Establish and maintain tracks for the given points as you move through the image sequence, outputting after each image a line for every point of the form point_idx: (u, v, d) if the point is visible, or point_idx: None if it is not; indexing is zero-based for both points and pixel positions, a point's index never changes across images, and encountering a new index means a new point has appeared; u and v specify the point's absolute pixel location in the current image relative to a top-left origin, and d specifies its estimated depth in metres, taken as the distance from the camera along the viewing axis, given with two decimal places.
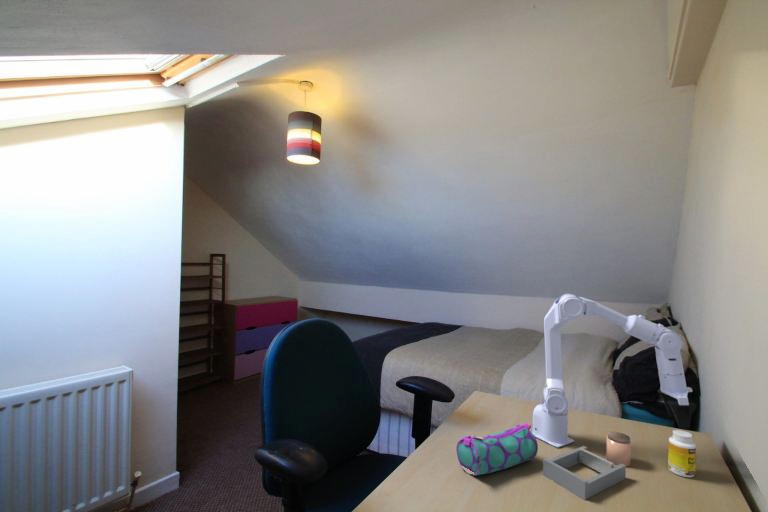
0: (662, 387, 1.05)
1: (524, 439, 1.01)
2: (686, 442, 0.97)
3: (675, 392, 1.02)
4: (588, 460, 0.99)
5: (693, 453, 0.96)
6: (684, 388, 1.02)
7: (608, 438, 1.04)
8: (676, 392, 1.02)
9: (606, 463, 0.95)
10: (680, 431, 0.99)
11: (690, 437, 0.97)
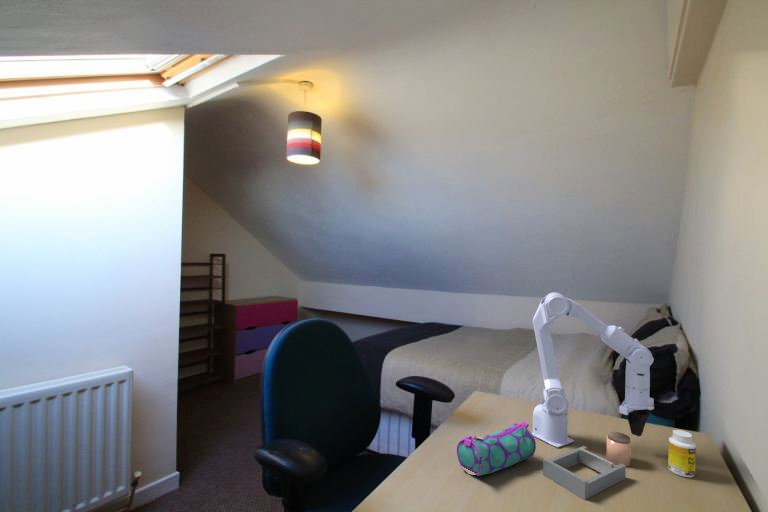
0: None
1: (523, 437, 1.01)
2: (686, 442, 0.97)
3: (629, 403, 1.07)
4: (588, 460, 0.99)
5: (693, 453, 0.96)
6: (639, 403, 1.05)
7: (608, 438, 1.04)
8: (630, 404, 1.07)
9: (606, 463, 0.95)
10: (680, 431, 0.99)
11: (690, 437, 0.97)
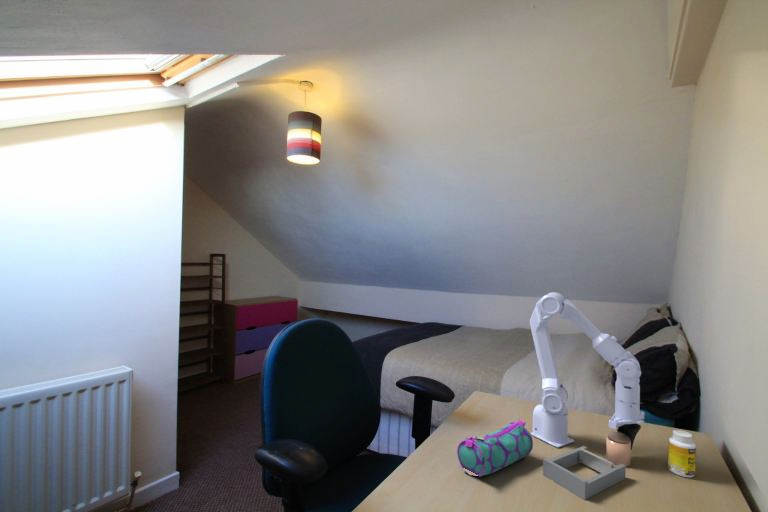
0: None
1: (521, 436, 1.02)
2: (686, 442, 0.97)
3: (619, 417, 1.04)
4: (588, 460, 0.99)
5: (693, 453, 0.96)
6: (629, 417, 1.03)
7: (608, 438, 1.03)
8: (620, 418, 1.04)
9: (606, 463, 0.95)
10: (680, 431, 0.99)
11: (690, 437, 0.97)
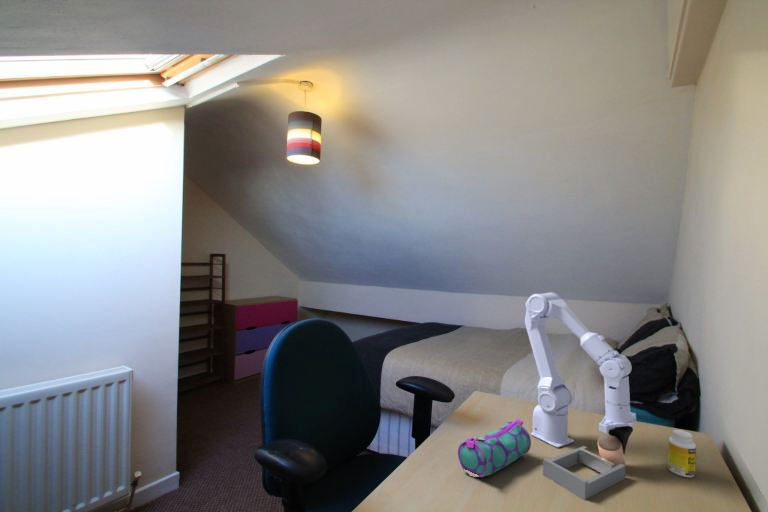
0: None
1: (519, 435, 1.02)
2: (686, 442, 0.97)
3: (610, 420, 1.00)
4: (588, 460, 0.99)
5: (693, 453, 0.96)
6: (620, 419, 0.99)
7: (598, 444, 1.01)
8: (610, 420, 1.00)
9: (606, 463, 0.95)
10: (680, 431, 0.99)
11: (690, 437, 0.97)
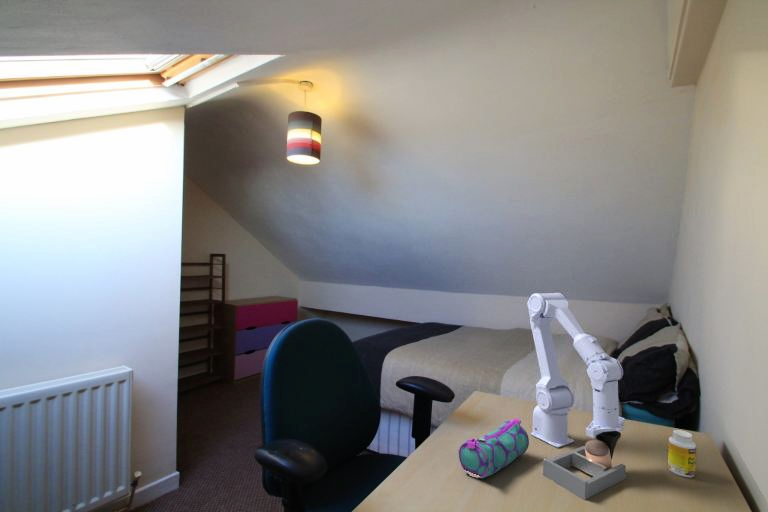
0: None
1: (518, 434, 1.03)
2: (686, 442, 0.97)
3: (597, 425, 0.98)
4: (581, 464, 0.98)
5: (693, 453, 0.96)
6: (608, 424, 0.96)
7: (585, 450, 0.98)
8: (598, 425, 0.98)
9: (599, 467, 0.94)
10: (680, 431, 0.99)
11: (690, 437, 0.97)
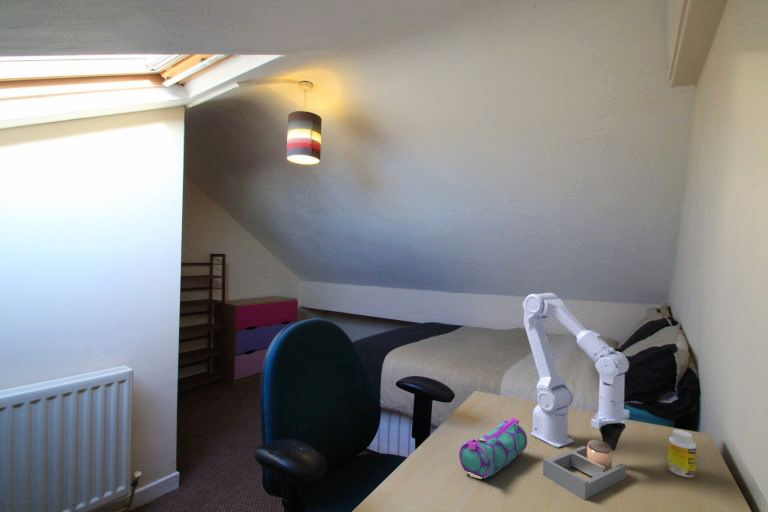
0: None
1: (516, 434, 1.03)
2: (686, 442, 0.97)
3: (602, 416, 1.00)
4: (580, 464, 0.97)
5: (693, 453, 0.96)
6: (613, 416, 0.99)
7: (588, 447, 0.99)
8: (603, 417, 1.00)
9: (598, 467, 0.93)
10: (680, 431, 0.99)
11: (690, 437, 0.97)
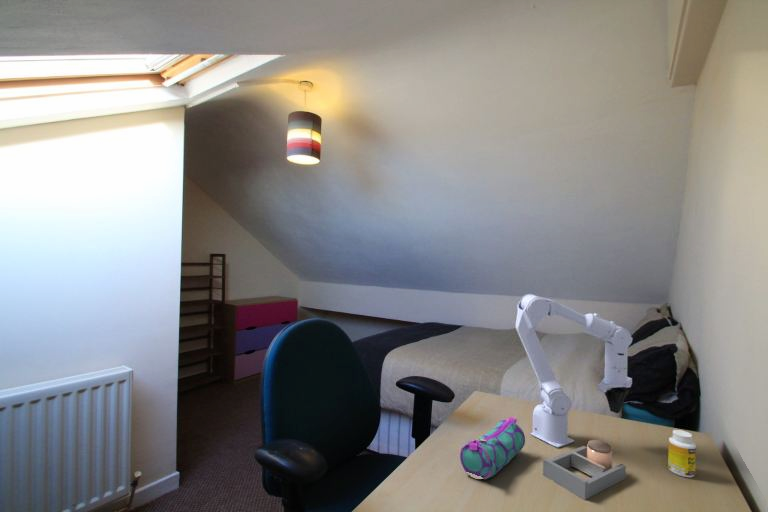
0: None
1: (515, 433, 1.04)
2: (686, 442, 0.97)
3: (608, 382, 1.12)
4: (580, 464, 0.97)
5: (693, 453, 0.96)
6: (617, 381, 1.10)
7: (588, 447, 0.99)
8: (608, 382, 1.12)
9: (598, 467, 0.93)
10: (680, 431, 0.99)
11: (690, 437, 0.97)
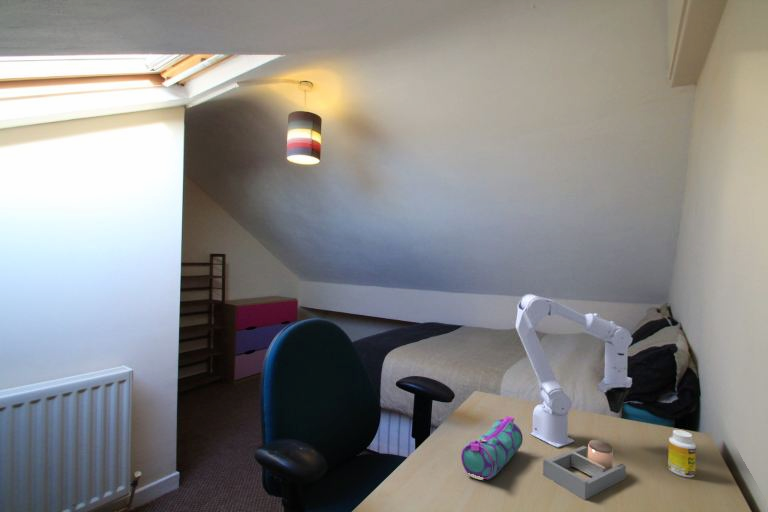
0: None
1: (513, 432, 1.04)
2: (686, 442, 0.97)
3: (608, 382, 1.12)
4: (580, 464, 0.97)
5: (693, 453, 0.96)
6: (617, 381, 1.10)
7: (589, 446, 0.99)
8: (608, 382, 1.12)
9: (598, 467, 0.93)
10: (680, 431, 0.99)
11: (690, 437, 0.97)
